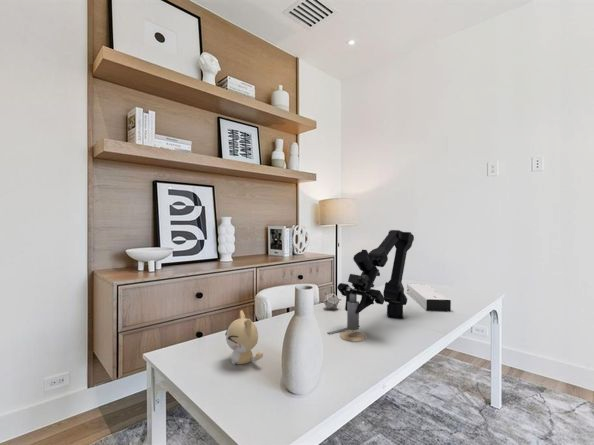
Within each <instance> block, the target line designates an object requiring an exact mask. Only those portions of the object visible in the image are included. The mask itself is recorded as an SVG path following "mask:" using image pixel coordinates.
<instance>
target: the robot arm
mask: <svg viewBox="0 0 594 445" xmlns="http://www.w3.org/2000/svg"><path fill="white" fill-rule="evenodd" d="M382 240H383V241H382V242H381V243H380V244H379V246H378V247H376V248H374V249H371V251H369V252H368V250H367V249H361V250H360V251H358V252H357V253H355V254H354V255H353V258H352V260H353V262H354V263H355V264H356V266H357V267H358V269H359V270H360V271H361V273H360V275H359V274H354V273H349V276H348V279H347V282H348V283H350V284H351V286H352V287H353V288H352V287H351V286H350V285H349V284H348V283H344V282H340V283H338V285H337V286H336V289H337V290H338V291H339V292H340V294H341V295H342V296H343V297H345V306H344V310H345V311H346V312H347V301H350V294H351V293H354V294H357V296H361V299H360V301H359V305H358V307H357V309H356V314H358V313H359V314H360V313H361V312H362V311H363V310H365V309H367V308H368V307H369V306H371V305H374V304H378V305H384V302H385V303H388V304H387V305H386V315H387V317H388V318H391V319H399V320H400V319H401V320H403V319H404V306H406V305H407V303H408V298H407V296H406V294H405V288H404V285H403V282H402V280H403V276H404V272H405V265H406V259H407V255H408V254H407V253H408V251H409V250H410V249H411V248H412V246H413V242H414V240H415V236H414V235H413V234H412V232H410V231H403V230H400V229H390V230H389V231H388V233H387V235H386V236H385V238H384V239H382ZM394 247H395V253H394V258H393V263H392V264H393V265H392V269H391V276H390V279H389V280H388V282H387V281H386V282H385V284H384V288H383V293H382V292H381V290H379V289H374V287H375V284H374V283H375V280H376V278H377V277H380V276H381V273H380V269H378V268H383V267H385V266H386V264H387V262H388V259H389V257H388V255H389V253H390V252H391V251H392V249H394ZM377 267H378V268H377Z"/></svg>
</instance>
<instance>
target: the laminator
mask: <svg viewBox="0 0 594 445" xmlns="http://www.w3.org/2000/svg"><path fill="white" fill-rule="evenodd" d="M406 288H407V289H406V292H407V293H406V294H407V295H408V296H409V297H410V298H411V299H412V300H414V301H415V302H416V304H418V305H419V306H420V307H421V308H422V309H424V311H425V312H448V311H449V312H451V307H452V306H451V305H452V300H451V299H450V298H448V297H447V296H445V295H444V294H442V293H441V292H439V291H437V290H436V289H435V288H433V287H432V286H430V285H429V284H427V283H406Z"/></svg>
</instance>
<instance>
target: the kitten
mask: <svg viewBox="0 0 594 445" xmlns="http://www.w3.org/2000/svg"><path fill="white" fill-rule="evenodd" d="M225 339H226V340H225V341H226V344H227V346H229V348H230V349H231V350H232V351H233V352H232V354H231V356H230V361H231V363H232V365H233V366H235V365H236V364H238V365H243V364H244V365H245V364H248V363H250V362H257V361H260V360H261V359H262V358H263V357H264V353H263V351H262V350H259V351H257V353H256V355H253V351H252V349H254V348H255V347H256V345H257V344H258V341H259V332H258V328H257V326H256V324H255V323H254V322H253V321H252V320H251V319H250V318H246V315H245V313H244V311H243V309H241V310H240V311H239V318H238V319H235V320H233V321H232V322H231V323H230V324H229V326H228V328H227V329H226V332H225Z"/></svg>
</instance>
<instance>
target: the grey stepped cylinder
mask: <svg viewBox="0 0 594 445" xmlns="http://www.w3.org/2000/svg"><path fill="white" fill-rule="evenodd" d="M357 299H358V295H357V294H354V293H351V294H350V301H347V311H346V315H347V316H346V318H347V319H346V320H347V321H346V328H347V329H349V330H348V331H359V329H360V327H359V326H360V312H359V313H358V314H356V309H357V307H358V305H359V303H360V301H358V300H357Z"/></svg>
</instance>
